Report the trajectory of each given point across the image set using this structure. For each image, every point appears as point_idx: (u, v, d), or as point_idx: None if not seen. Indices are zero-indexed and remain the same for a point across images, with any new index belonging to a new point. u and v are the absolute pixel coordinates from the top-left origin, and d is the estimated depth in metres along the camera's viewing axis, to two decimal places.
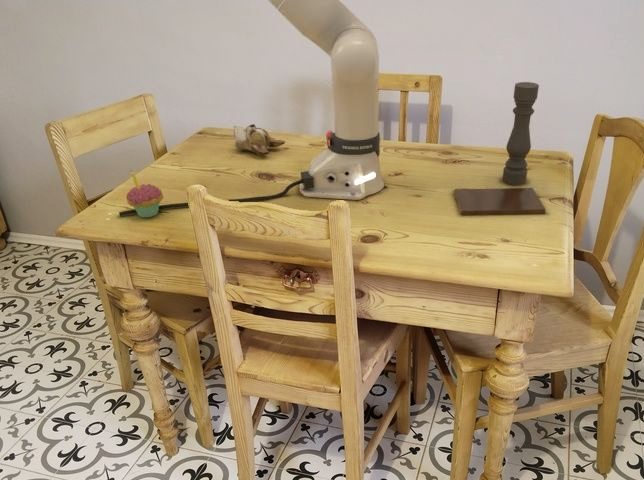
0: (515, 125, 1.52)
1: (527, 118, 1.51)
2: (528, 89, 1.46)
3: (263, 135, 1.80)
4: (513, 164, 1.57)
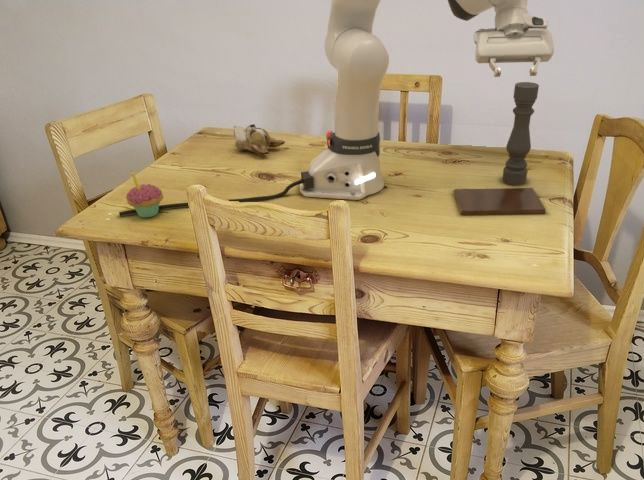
0: (515, 125, 1.52)
1: (527, 118, 1.51)
2: (528, 89, 1.46)
3: (263, 135, 1.80)
4: (513, 164, 1.57)
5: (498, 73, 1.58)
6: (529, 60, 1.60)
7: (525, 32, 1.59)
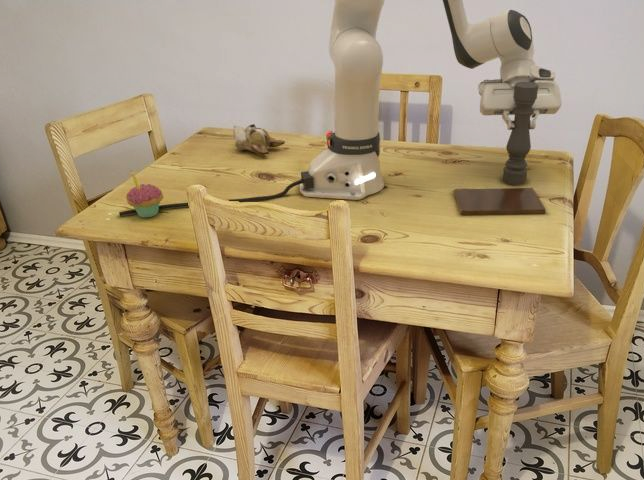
0: (515, 125, 1.52)
1: (527, 118, 1.51)
2: (528, 89, 1.46)
3: (263, 135, 1.80)
4: (513, 164, 1.57)
5: (512, 126, 1.52)
6: None
7: None
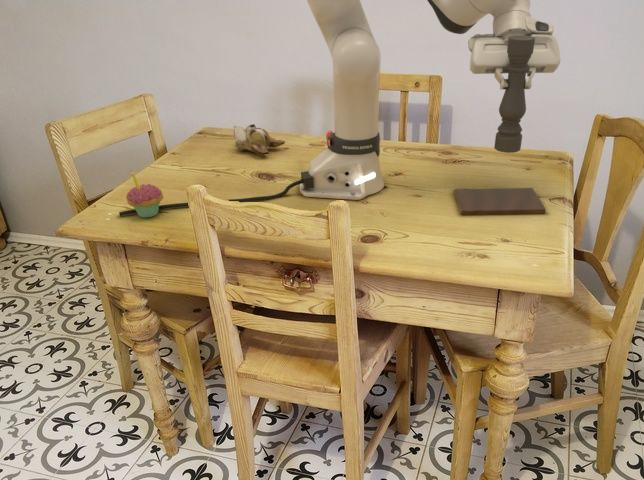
0: (509, 84, 1.37)
1: (522, 76, 1.35)
2: (523, 42, 1.30)
3: (263, 135, 1.80)
4: (506, 129, 1.42)
5: (505, 85, 1.37)
6: None
7: None
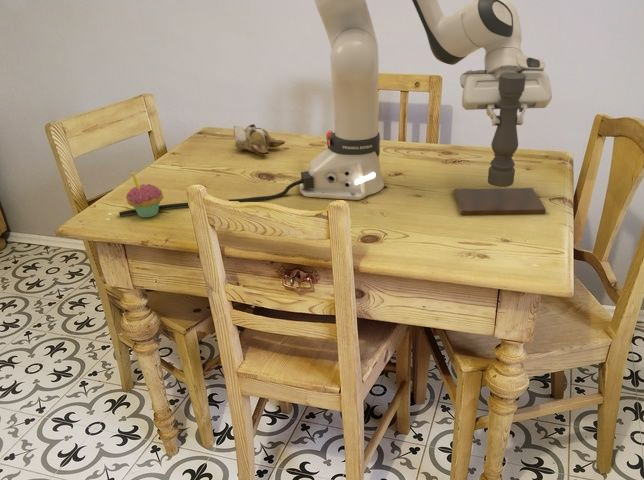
0: (500, 120, 1.38)
1: (513, 112, 1.36)
2: (514, 80, 1.31)
3: (263, 135, 1.80)
4: (499, 164, 1.42)
5: (497, 122, 1.38)
6: None
7: None
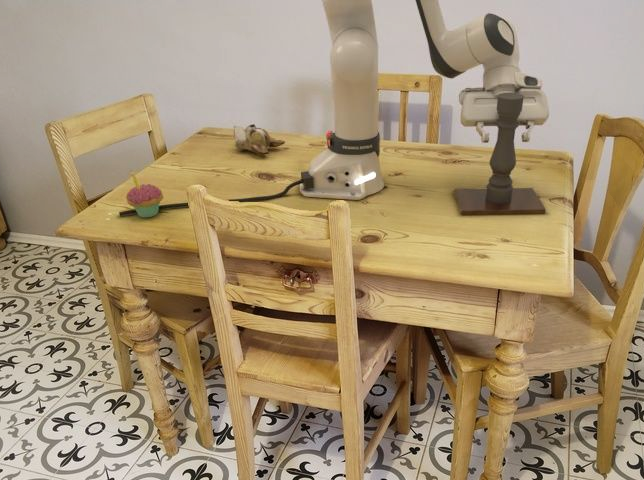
0: (498, 139, 1.40)
1: (511, 132, 1.38)
2: (512, 101, 1.33)
3: (263, 135, 1.80)
4: (497, 181, 1.45)
5: (486, 139, 1.40)
6: (521, 123, 1.43)
7: None
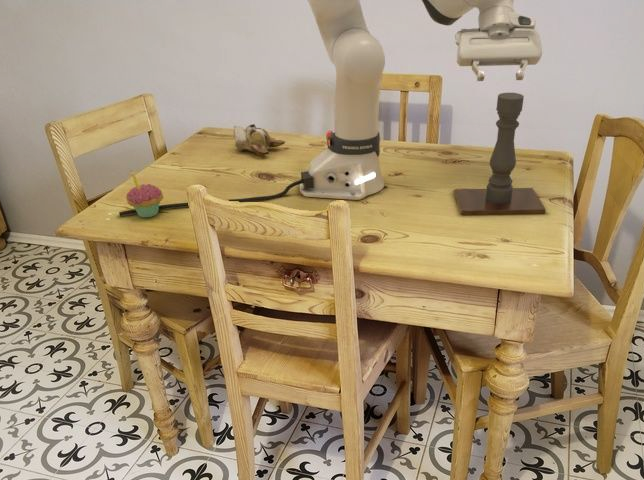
0: (498, 139, 1.40)
1: (511, 132, 1.38)
2: (512, 101, 1.33)
3: (263, 135, 1.80)
4: (497, 181, 1.45)
5: (481, 77, 1.45)
6: (515, 63, 1.47)
7: (511, 32, 1.46)
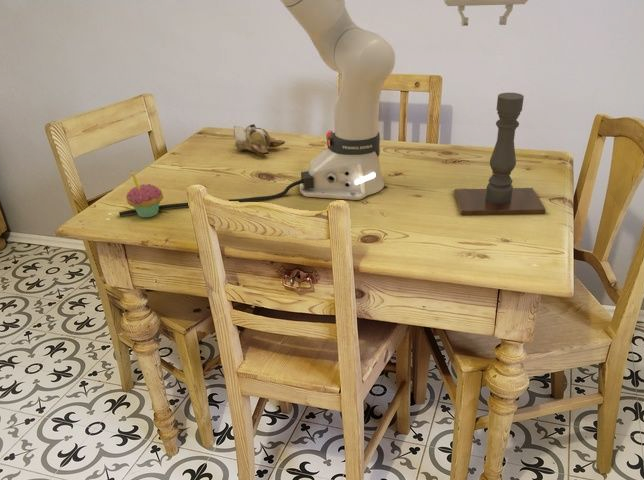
0: (498, 139, 1.40)
1: (511, 132, 1.38)
2: (512, 101, 1.33)
3: (263, 135, 1.80)
4: (497, 181, 1.45)
5: (465, 25, 1.49)
6: None
7: None
